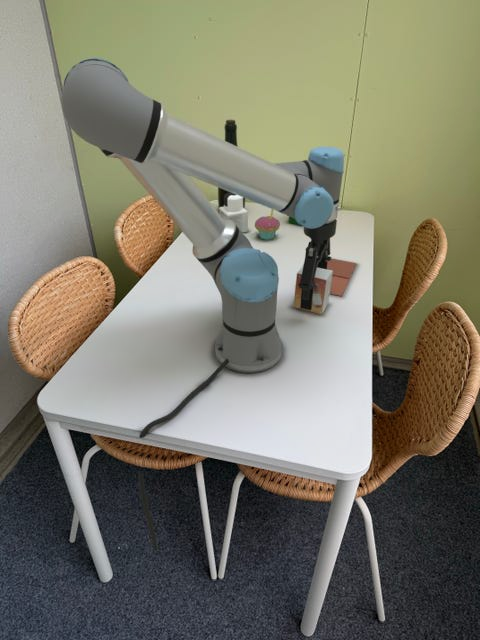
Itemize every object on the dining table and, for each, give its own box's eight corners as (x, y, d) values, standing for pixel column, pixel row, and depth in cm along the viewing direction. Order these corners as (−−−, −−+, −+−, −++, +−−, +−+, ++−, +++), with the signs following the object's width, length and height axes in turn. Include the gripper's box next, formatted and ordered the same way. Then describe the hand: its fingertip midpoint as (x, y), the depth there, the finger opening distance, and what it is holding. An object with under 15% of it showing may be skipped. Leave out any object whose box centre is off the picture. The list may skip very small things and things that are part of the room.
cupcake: (279, 232, 155) (281, 199, 148) (278, 242, 148) (280, 208, 141) (255, 231, 156) (255, 198, 149) (253, 241, 149) (254, 207, 142)
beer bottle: (223, 204, 177) (221, 116, 158) (248, 207, 174) (249, 118, 155) (214, 214, 169) (211, 122, 150) (240, 217, 166) (240, 124, 147)
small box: (292, 307, 116) (295, 272, 110) (300, 297, 120) (303, 263, 114) (322, 315, 113) (326, 279, 107) (328, 304, 117) (333, 269, 111)
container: (219, 227, 158) (218, 192, 151) (238, 224, 161) (238, 189, 154) (228, 235, 153) (227, 199, 145) (248, 231, 155) (248, 196, 148)
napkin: (341, 296, 121) (342, 294, 120) (299, 287, 124) (299, 285, 124) (356, 264, 136) (356, 263, 135) (318, 257, 139) (318, 256, 139)
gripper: (322, 242, 92) (314, 324, 104) (348, 202, 110) (338, 275, 123) (288, 236, 94) (284, 317, 107) (319, 198, 113) (312, 270, 125)
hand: (313, 295), depth 115 cm, fingers open, 13 cm apart
